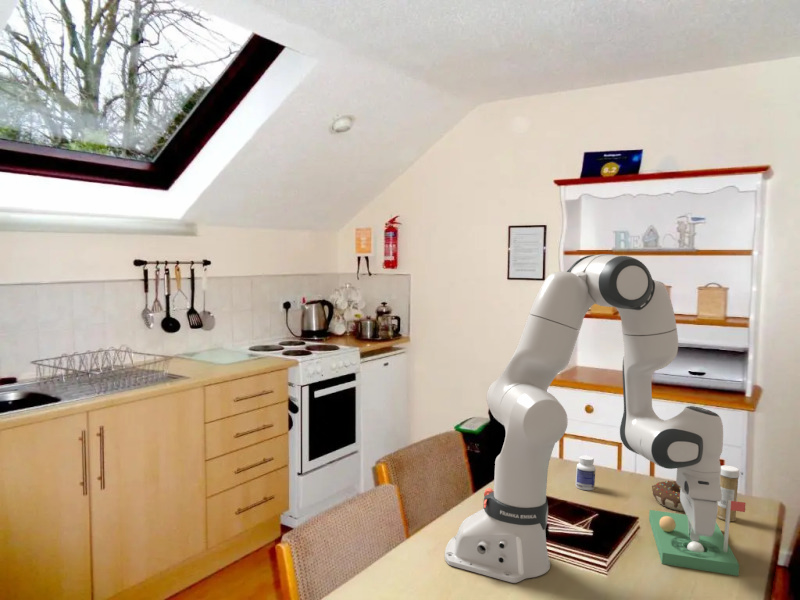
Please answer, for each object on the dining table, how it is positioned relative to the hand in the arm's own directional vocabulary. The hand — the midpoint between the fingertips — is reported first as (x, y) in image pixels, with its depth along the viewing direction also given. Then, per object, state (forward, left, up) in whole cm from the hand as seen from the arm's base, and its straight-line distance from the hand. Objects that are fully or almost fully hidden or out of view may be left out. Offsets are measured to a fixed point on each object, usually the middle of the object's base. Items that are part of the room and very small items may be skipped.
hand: (693, 538), depth 138 cm
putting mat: (0, +4, -3) cm, 5 cm away
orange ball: (-5, +4, +1) cm, 6 cm away
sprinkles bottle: (+12, +24, -4) cm, 27 cm away
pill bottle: (-23, +33, -4) cm, 40 cm away
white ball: (0, -2, -2) cm, 3 cm away
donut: (+2, +30, -4) cm, 30 cm away
